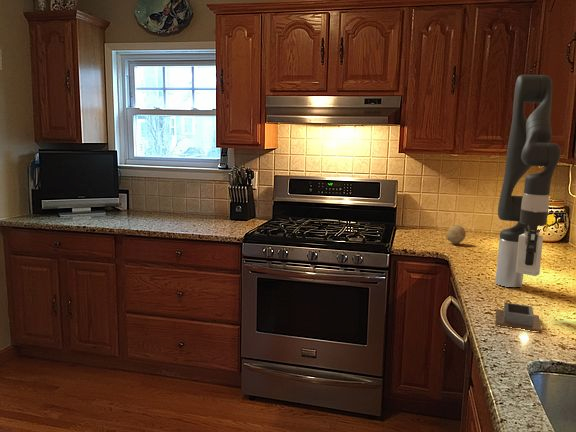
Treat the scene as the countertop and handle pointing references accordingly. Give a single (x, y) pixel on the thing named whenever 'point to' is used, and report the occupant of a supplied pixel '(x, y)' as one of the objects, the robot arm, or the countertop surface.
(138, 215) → the countertop surface
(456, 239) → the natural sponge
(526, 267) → the skincare box
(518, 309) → the collar
